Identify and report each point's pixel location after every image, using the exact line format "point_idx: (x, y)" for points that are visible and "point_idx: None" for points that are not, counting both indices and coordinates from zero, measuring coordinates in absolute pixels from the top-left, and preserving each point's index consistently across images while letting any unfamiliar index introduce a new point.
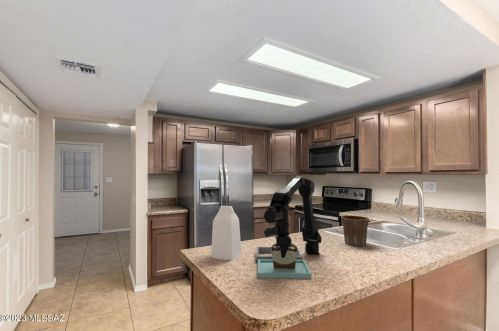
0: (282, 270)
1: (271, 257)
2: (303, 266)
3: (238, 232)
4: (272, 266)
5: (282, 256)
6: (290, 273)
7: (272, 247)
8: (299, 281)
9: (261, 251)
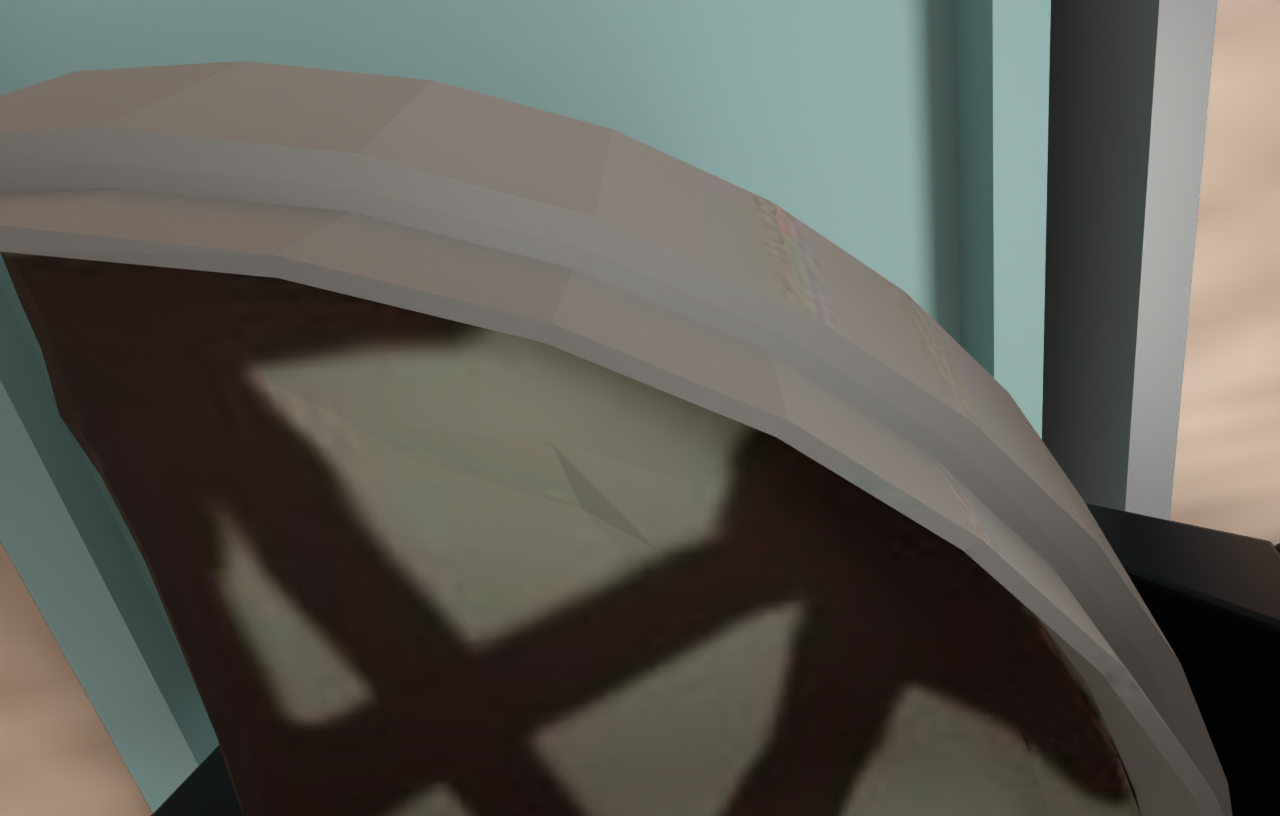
0: None
1: (1138, 19)
2: None
3: None
4: (635, 125)
5: None
6: (93, 705)
7: (299, 295)
8: (47, 807)
9: None
